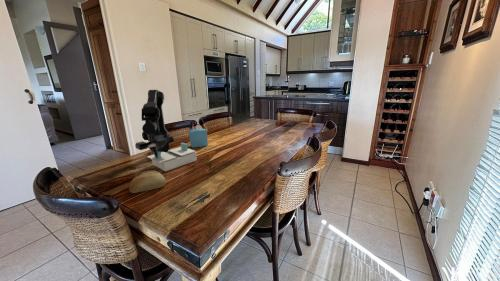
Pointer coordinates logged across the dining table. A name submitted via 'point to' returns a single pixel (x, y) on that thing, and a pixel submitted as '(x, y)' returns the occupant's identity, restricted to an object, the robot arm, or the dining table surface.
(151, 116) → the robot arm
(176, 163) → the carton
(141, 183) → the bread roll
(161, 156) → the near flap
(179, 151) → the far flap
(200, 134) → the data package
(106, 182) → the dining table surface
